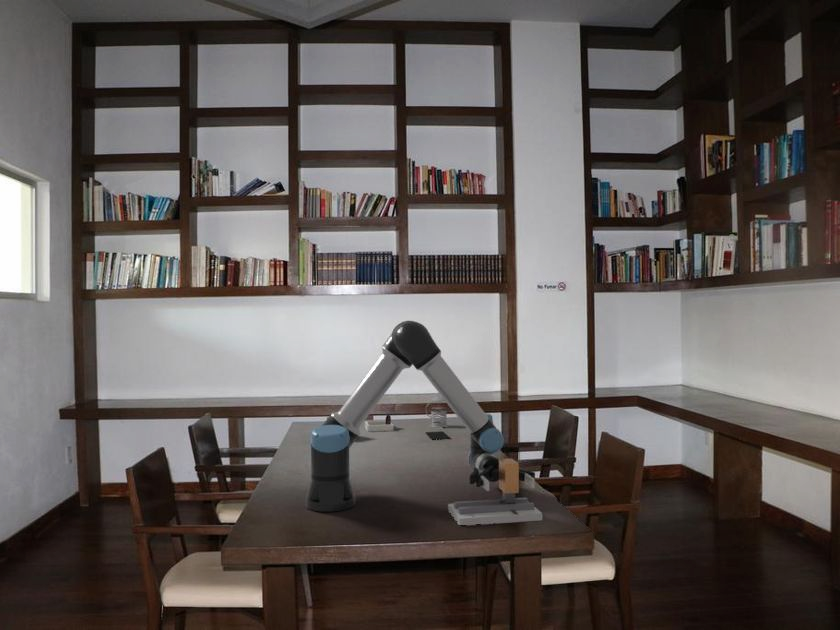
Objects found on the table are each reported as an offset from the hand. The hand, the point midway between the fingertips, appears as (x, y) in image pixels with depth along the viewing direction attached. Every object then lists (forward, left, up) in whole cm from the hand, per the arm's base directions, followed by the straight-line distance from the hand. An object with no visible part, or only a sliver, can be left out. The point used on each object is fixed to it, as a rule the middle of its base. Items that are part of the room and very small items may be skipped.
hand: (510, 485), depth 186 cm
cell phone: (+5, +122, -10) cm, 122 cm away
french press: (+9, +147, -9) cm, 147 cm away
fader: (0, +2, -7) cm, 7 cm away
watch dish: (-21, +147, -9) cm, 149 cm away
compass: (-19, +145, -9) cm, 147 cm away
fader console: (-4, +2, -9) cm, 10 cm away
